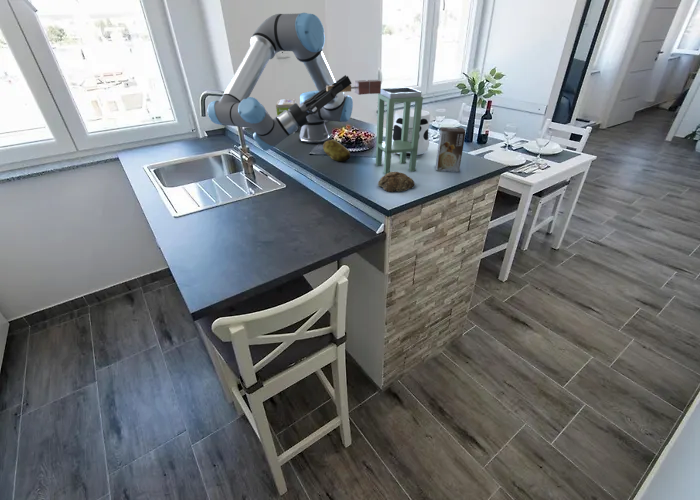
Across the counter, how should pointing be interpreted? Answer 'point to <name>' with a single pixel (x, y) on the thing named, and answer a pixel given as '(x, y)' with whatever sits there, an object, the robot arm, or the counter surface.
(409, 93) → the steel pan
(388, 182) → the bread roll
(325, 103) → the robot arm
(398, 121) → the milk container
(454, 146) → the coffee box
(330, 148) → the potato
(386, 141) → the shelf stand
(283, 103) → the tea box
